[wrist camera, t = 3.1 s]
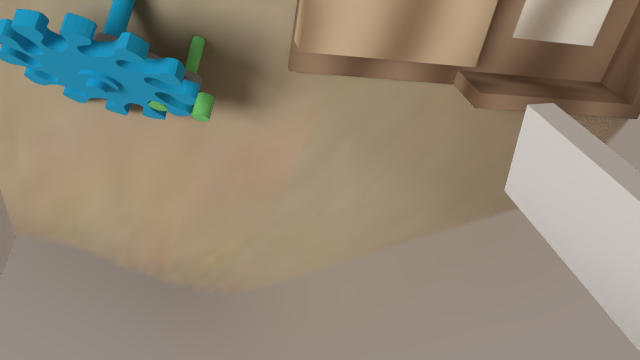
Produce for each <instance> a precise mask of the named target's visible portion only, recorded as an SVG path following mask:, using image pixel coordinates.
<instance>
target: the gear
mask: <svg viewBox="0 0 640 360" xmlns="http://www.w3.org/2000/svg"><path fill="white" fill-rule="evenodd" d="M134 3H135V0H113V3H112V6H111V9H110V12H109V15H108V19H107V22H106V25H105V28H104V31H103V33H97V34H96V35H95V37H94V34H95V31H96V28H97V25H96V23H95V22H93V21H91V20H89V19H86V18H84V17H81V16H78V15H75V14H72V13H66V15H65V18H64V20H63V23H62V26H61V29H60V34H61V35H59V34H56V33H54V32H52V31H50V30H49V29H48V28H47V25H48V22H49V19H48V18H47V17H46V16H45V15H44V14H42V13H40V12H37V11H32V10H25V9H17V11H16V13H15V16H14V19H13V21H12V20H9V19H1V20H0V44H2V46H1V49H0V58H1V60H3V61H5V62H8V63H11V64H15V65H21V66H26V70H25V73H24V75H25V76H26V77H27V78H29V79H30V80H31V81H33V82H34V83H37V84H41V85H50V84H54V85H62V86H65V89H64V92H63V95H65V96H67V97H69V98H71V99H73V100H75V101H77V102H80V103H86V102H87V100H88V99H91V98H104V99H108V100H107V103H106V106H105V108H106V109H107V110H110V111H112V112H116V113H119V114H123V115H128V112H129V108H130V105H131V103H134V104H138V105H141V106H143V107H144V108H143V111H142V114H143V115H145V116H146V117H150V118H155V119H164V120H165V117H166V113H167V110H168V111H169V112H170V113H172V114H174V115H177V116H186V115H191V117H193V118H194V119H196V120H199V121H209V119H210V116H211V112H212V108H213V104H214V100H215V98H214V97H213V96H212V95H210V94H207V93H202V92H200V91H201V87H202V83H203V79H202V77H201V76H199V75H198V74H197V71H198V67H199V63H200V59H201V56H202V52H203V48H204V44H205V40H204V39H203V38H201V37H197V36H195V37H193V38H192V42H191V46H190V49H189V53H188V57H187V60H186V64H185V67H184V65H183V64H182V63H181V62H180V61H179V60H177V59H174V58H161V57H159V56H157V55H155V54H153V53H151V52H148V50H149V46H150V45H149V44H148V43H147V42H146V41H144V40H143V39H141V38H140V37H138V36H136V35H134V34H132V33H131V32H126V29H127V25H128V22H129V19H130V16H131V13H132V9H133V6H134ZM93 37H94V40H93ZM193 104H194V106H193ZM192 108H193V109H192ZM191 111H192V113H191Z"/></svg>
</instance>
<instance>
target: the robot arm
mask: <svg viewBox="0 0 640 360" xmlns="http://www.w3.org/2000/svg"><path fill="white" fill-rule="evenodd" d="M504 191H505V192H506V193H507V194H508V195H509V197H510V198H511V199H512V200H513V201H514V203H515V204H516V205H517V206H518V207H519V209H520V210H521V211H522V212H523V213H524V215H525V216H526V217H527V218H528V219H529V220H530V222H531V223H532V224H533V225H534V226H535V227H536V229H537V230H538V231H539V232H540V234H541V235H542V236H543V237H544V238H545V239H546V241H547V242H548V243H549V244H550V245H551V247H552V248H553V249H554V250H555V251H556V253H557V254H558V255H559V256H560V257H561V258H562V260H563V261H564V262H565V263H566V264H567V266H568V267H569V268H570V269H571V270H572V272H573V273H574V274H575V275H576V276H577V278H578V279H579V280H580V281H581V282H582V284H583V285H584V286H585V287H586V288H587V289H588V291H589V292H590V293H591V294H592V295H593V297H594V298H595V299H596V300H597V301H598V303H599V304H600V305H601V306H602V307H603V309H604V310H605V311H606V312H607V313H608V314H609V316H610V317H611V318H612V319H613V320H614V322H615V323H616V324H617V325H618V326H619V328H620V329H621V330H622V331H623V332H624V334H625V335H626V336H627V337H628V338H629V339H630V341H631V342H632V343H633V344H634V345H635V347H636V348H637V349H638V350H639V351H640V172H639V171H638V170H637V169H635V168H634V167H633V166H632V165H631V164H629V163H628V162H627V161H626V160H624V159H623V158H622V157H621V156H619V155H618V154H617V153H616V152H614V151H613V150H612V149H611V148H609V147H608V146H607V145H606V144H604V143H603V142H602V141H601V140H599V139H598V138H597V137H596V136H594V135H593V134H592V133H591V132H589V131H588V130H587V129H586V128H584V127H583V126H582V125H581V124H579V123H578V122H577V121H576V120H574V119H573V118H572V117H571V116H569V115H568V114H567V113H566V112H564V111H563V110H562V109H561V108H559V107H558V106H557V105H556V104H554V103H544V104H529V105H527V108H526V112H525V115H524V119H523V123H522V127H521V130H520V134H519V138H518V142H517V145H516V149H515V153H514V157H513V160H512V164H511V168H510V172H509V175H508V179H507V183H506V186H505V190H504ZM15 239H16V235H15V232H14V229H13V226H12V223H11V220H10V217H9V214H8V212H7V209H6V206H5V203H4V200H3V197H2V194H1V191H0V278H1V276H2V273H3V270H4V268H5V265H6V262H7V260H8V257H9V254H10V252H11V249H12V247H13V244H14V241H15Z"/></svg>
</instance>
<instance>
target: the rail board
mask: <svg viewBox="0 0 640 360" xmlns="http://www.w3.org/2000/svg"><path fill="white" fill-rule="evenodd" d="M288 68H289V71H294V72H306V73H319V74H331V75H344V76H356V77H369V78H382V79H394V80H407V81H419V82H432V83H444V84H454V85H455V86H456V88H457V89H458V90H459V91H460V92H461V93H462V94H463V95H464V96H465V97H466V99H467V100H468V101H469V102H470V103H471V104H472V105H473V106H474V107H475V108H482V109H497V110H512V111H526V108H527V105H529V104H544V103H554V104H556V105H557V106H558V107H559V108H561V109H562V110H563V111H564V112H566V113H567V114H570V115H585V116H599V117H614V118H629V119H637V118H638V116H639V114H640V0H298V2H297V9H296V16H295V23H294V30H293V37H292V44H291V50H290V57H289V64H288Z"/></svg>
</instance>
